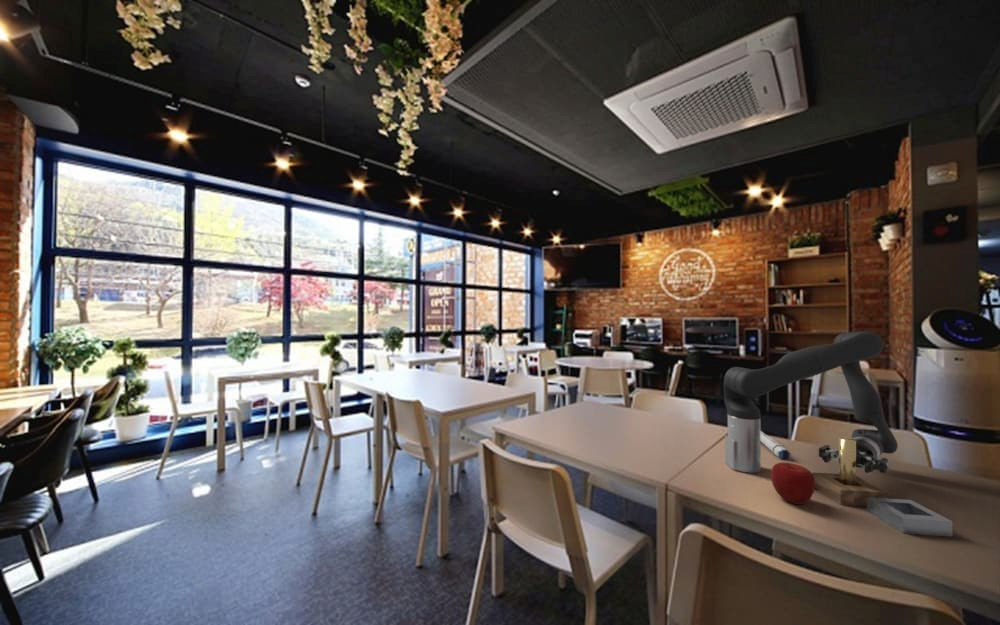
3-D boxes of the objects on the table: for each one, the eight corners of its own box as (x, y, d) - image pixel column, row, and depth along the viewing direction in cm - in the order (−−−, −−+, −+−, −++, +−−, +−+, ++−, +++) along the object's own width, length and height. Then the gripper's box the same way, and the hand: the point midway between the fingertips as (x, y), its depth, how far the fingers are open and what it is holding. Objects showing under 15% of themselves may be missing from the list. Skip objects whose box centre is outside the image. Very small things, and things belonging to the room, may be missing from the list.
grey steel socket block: (903, 533, 87) (902, 518, 87) (867, 510, 97) (867, 497, 97) (952, 536, 85) (952, 521, 86) (911, 513, 95) (911, 499, 95)
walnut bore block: (840, 504, 100) (840, 489, 100) (812, 485, 111) (812, 472, 111) (886, 507, 98) (886, 492, 98) (853, 488, 109) (853, 474, 109)
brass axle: (845, 498, 103) (845, 441, 103) (835, 492, 107) (835, 437, 107) (859, 499, 103) (859, 441, 103) (849, 493, 106) (849, 437, 106)
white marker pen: (776, 449, 131) (742, 419, 155) (775, 466, 132) (741, 434, 156) (793, 449, 130) (756, 420, 155) (791, 467, 131) (755, 435, 155)
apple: (824, 511, 97) (823, 472, 97) (783, 508, 98) (783, 470, 98) (800, 493, 106) (800, 458, 106) (763, 491, 107) (763, 456, 108)
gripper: (830, 433, 119) (813, 443, 109) (894, 445, 107) (881, 458, 98) (830, 456, 119) (813, 468, 109) (894, 472, 107) (881, 487, 98)
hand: (845, 463), depth 104 cm, fingers open, 8 cm apart
